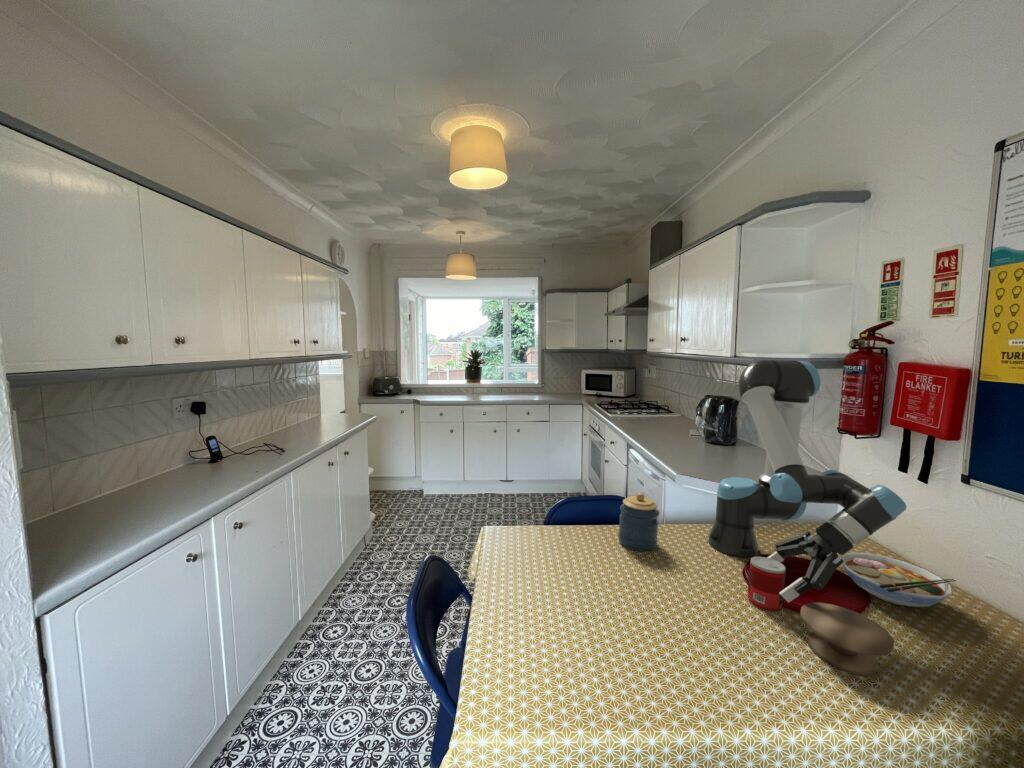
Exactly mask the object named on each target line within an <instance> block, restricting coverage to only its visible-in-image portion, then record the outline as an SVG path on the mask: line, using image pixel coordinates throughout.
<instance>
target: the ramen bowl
mask: <svg viewBox="0 0 1024 768" xmlns="http://www.w3.org/2000/svg"><path fill="white" fill-rule="evenodd" d="M840 558H841V559H842V560H843V563H842V564H841V565H842V567H843V568H844V570H845V571H846V573H847V574H848V575H849V577H850V578H851V579H852V581H853V582H854V583H855V584H856V585H857V586H858V587H860V588H862V590H865V591H866V592H867V593H869V594H871V595H873V596H875V597H876V598H878V599H879V600H882V601H884V602H886V603H890V604H893V605H898V606H906V607H910V608H911V607H914V608H926V607H930V606H933V605H935V604H938V603H940V602H942V601H944V600H946V599H947V598H949V596H950V595H952V594H953V590H952V586H951V585H950V584H949V583H952V582H956V581H957V580H956V579H954V578H950V579H949V578H947V579H943V578H942V577H940V576H938V575H936V574H935V573H932V572H930V571H929V570H927V569H925V568H922V567H920V566H917V565H913V564H912V563H909V562H906V561H903V560H899V559H896V558H893V557H888V556H886V555H880V554H875V553H874V554H873V553H867V552H847V553H845V554H844V555H841V556H840Z"/></svg>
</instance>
